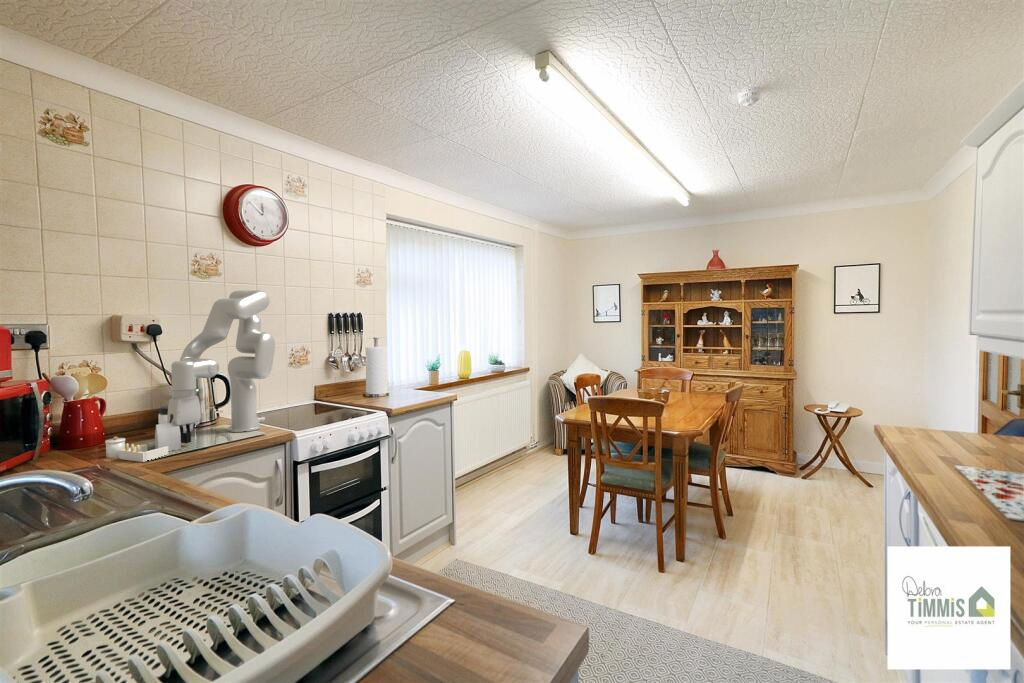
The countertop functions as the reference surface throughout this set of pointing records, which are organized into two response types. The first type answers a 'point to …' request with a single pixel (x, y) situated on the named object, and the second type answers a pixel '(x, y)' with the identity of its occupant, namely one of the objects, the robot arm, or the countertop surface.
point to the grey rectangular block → (168, 436)
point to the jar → (163, 414)
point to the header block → (141, 453)
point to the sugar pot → (114, 446)
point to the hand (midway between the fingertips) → (185, 442)
